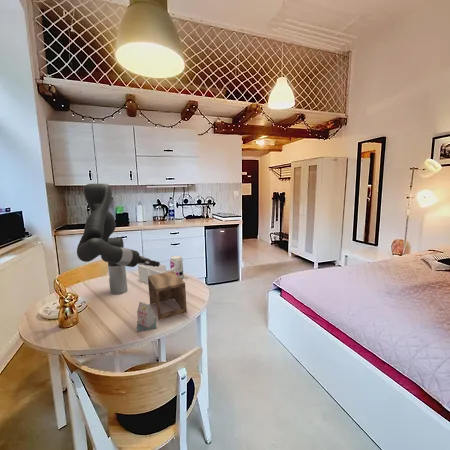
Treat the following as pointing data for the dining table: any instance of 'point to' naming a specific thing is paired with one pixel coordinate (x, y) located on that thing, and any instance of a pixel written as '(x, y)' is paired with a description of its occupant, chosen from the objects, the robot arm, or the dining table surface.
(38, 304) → the dining table surface
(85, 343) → the dining table surface
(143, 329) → the mat
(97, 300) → the dining table surface
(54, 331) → the dining table surface
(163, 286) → the hutch
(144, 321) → the tea bag
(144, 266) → the storage container
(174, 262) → the supplement can
